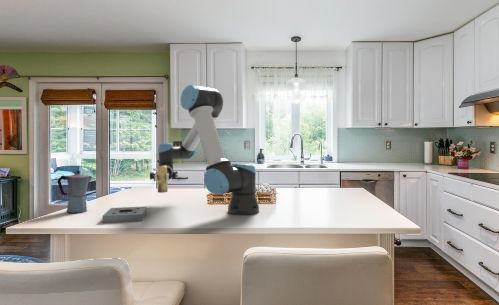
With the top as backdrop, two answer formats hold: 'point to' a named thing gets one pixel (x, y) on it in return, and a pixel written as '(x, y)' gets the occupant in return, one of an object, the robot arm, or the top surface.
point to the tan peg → (162, 179)
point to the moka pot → (76, 191)
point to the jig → (125, 214)
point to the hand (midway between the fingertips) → (161, 177)
